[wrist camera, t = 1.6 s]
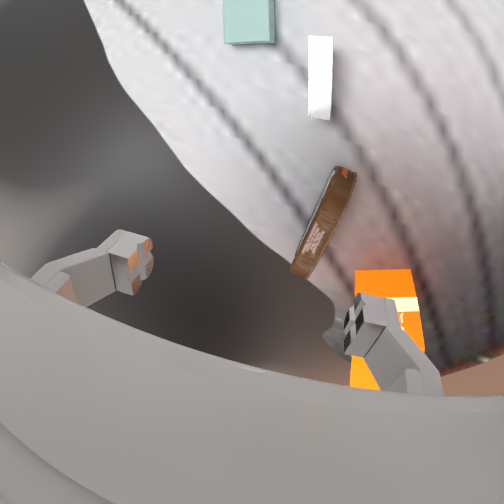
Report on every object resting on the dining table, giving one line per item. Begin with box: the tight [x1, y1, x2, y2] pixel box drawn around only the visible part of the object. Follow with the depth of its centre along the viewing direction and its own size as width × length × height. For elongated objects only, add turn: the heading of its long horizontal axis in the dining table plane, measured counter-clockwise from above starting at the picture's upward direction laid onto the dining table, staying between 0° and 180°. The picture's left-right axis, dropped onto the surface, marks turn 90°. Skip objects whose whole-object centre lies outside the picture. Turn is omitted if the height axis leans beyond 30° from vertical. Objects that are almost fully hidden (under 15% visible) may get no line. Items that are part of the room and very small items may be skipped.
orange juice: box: [350, 269, 425, 391], centre depth 33 cm, size 8×9×20 cm
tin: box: [289, 166, 357, 280], centre depth 33 cm, size 15×3×8 cm, turn 164°
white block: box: [308, 36, 333, 120], centre depth 24 cm, size 8×2×8 cm, turn 1°
